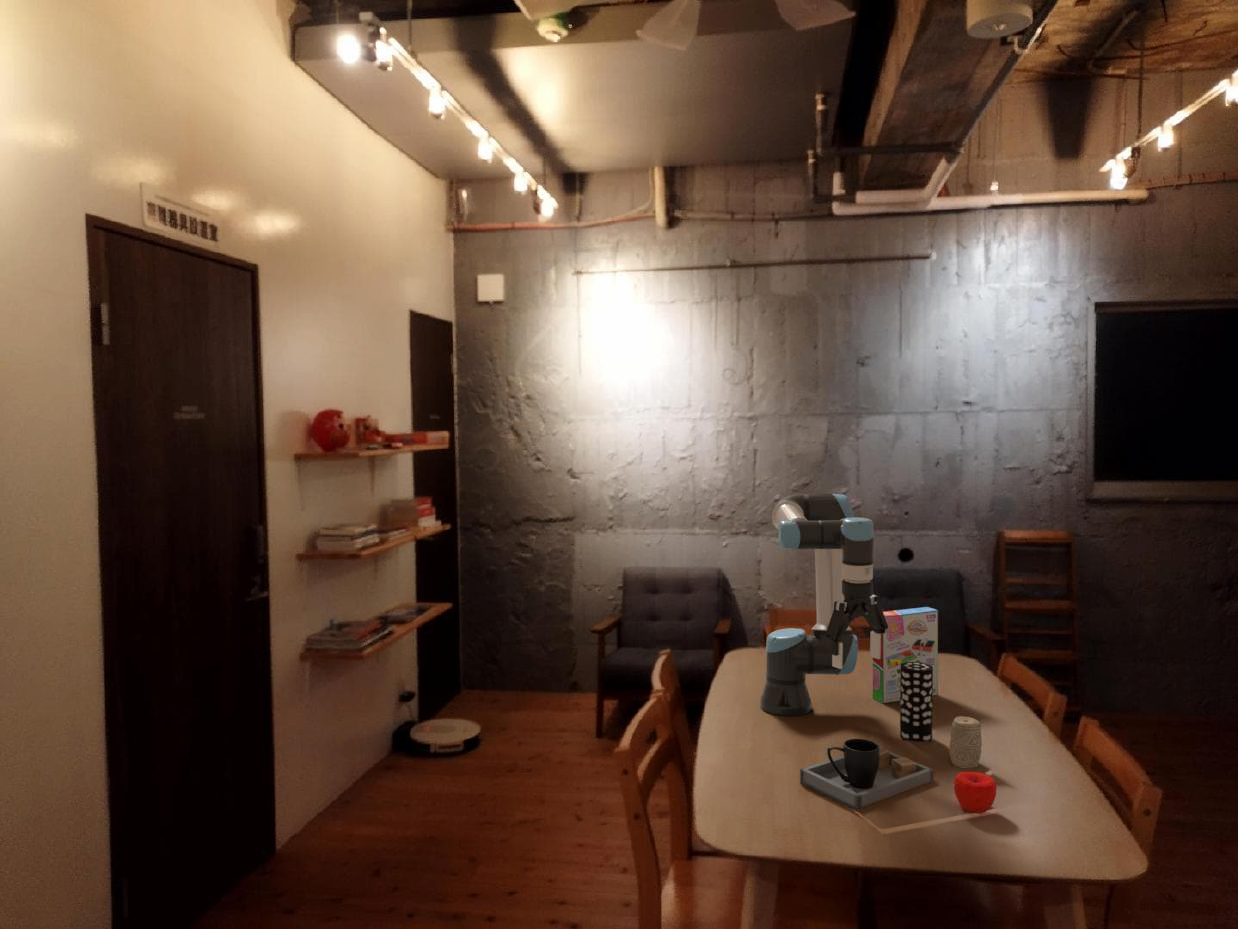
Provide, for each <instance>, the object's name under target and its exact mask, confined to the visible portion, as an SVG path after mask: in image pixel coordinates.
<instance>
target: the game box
mask: <svg viewBox="0 0 1238 929" xmlns="http://www.w3.org/2000/svg"><path fill="white" fill-rule="evenodd" d="M883 614H884V616H885V619H886V622H887V624H888V629H885V630H886V632H885V634H883V633H882V643H881V646H880V659H876V658H873V657H872V699H873V700H875V701H876V702H879V703H881V704H888V703H894V702H900V665H901V664H902V663H905V662H921V663H926V664H929V665H931V666H932V667H933V697H934V696H939V674H938V673H939V660H938V659H939V658H938V656H939V654H938V653H939V648H938V647H939V645H938V644H939V641H938V640H939V639H938V638H939V610H938V609H936V608H932V607H929V606H923V607H915V608H906V609H896V610H887V611H883ZM872 631H873V630H872ZM873 632H874V631H873Z"/></svg>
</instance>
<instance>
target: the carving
mask: <svg viewBox="0 0 1238 929" xmlns="http://www.w3.org/2000/svg"><path fill="white" fill-rule="evenodd" d="M982 740H983V738H982V726H981V723H980V721H978V720H977V719H975V718H973V717H969V716H963V715H962V716H956V717H954V719H953V721H952V724H951V730H950V740H949V757H950V758H949V759H950V762H951V763H952V764H953V765H954V766H956V767H958V768H962V769H975V768H977V767H979V763H980V759H981V757H982V756H981V755H982V746H983V741H982Z"/></svg>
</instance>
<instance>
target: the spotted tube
mask: <svg viewBox="0 0 1238 929" xmlns="http://www.w3.org/2000/svg"><path fill="white" fill-rule="evenodd" d="M933 698H934V696H933V667H932V666H931V665H929V664H926V663H921V662H905V663H902V664H901V665H900V701H899V738H900V740H902V741H903V742H904V741H910V742H911V741H912V742H917V743H918V742H923V743H924V742H928V743H931V742H933Z"/></svg>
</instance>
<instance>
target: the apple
mask: <svg viewBox="0 0 1238 929" xmlns="http://www.w3.org/2000/svg"><path fill="white" fill-rule="evenodd" d="M953 790H954V794H955V797H956V799H957V801H958V803H959V805H960V807H961V808H962V810H965V811H966V812H970V813H972V814H983V813H986V812H987V811H989V810H990V808H991V807H992V806H993V804H994V801H995V799H996V797H997V784H996V781H995V779H994V778H993V777H991V776H990V775H987V774H984V773H982V772H976V771H975V772H974V771H963V772H959V773H958V774H957V775H956V776H955V778H954V784H953Z"/></svg>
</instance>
